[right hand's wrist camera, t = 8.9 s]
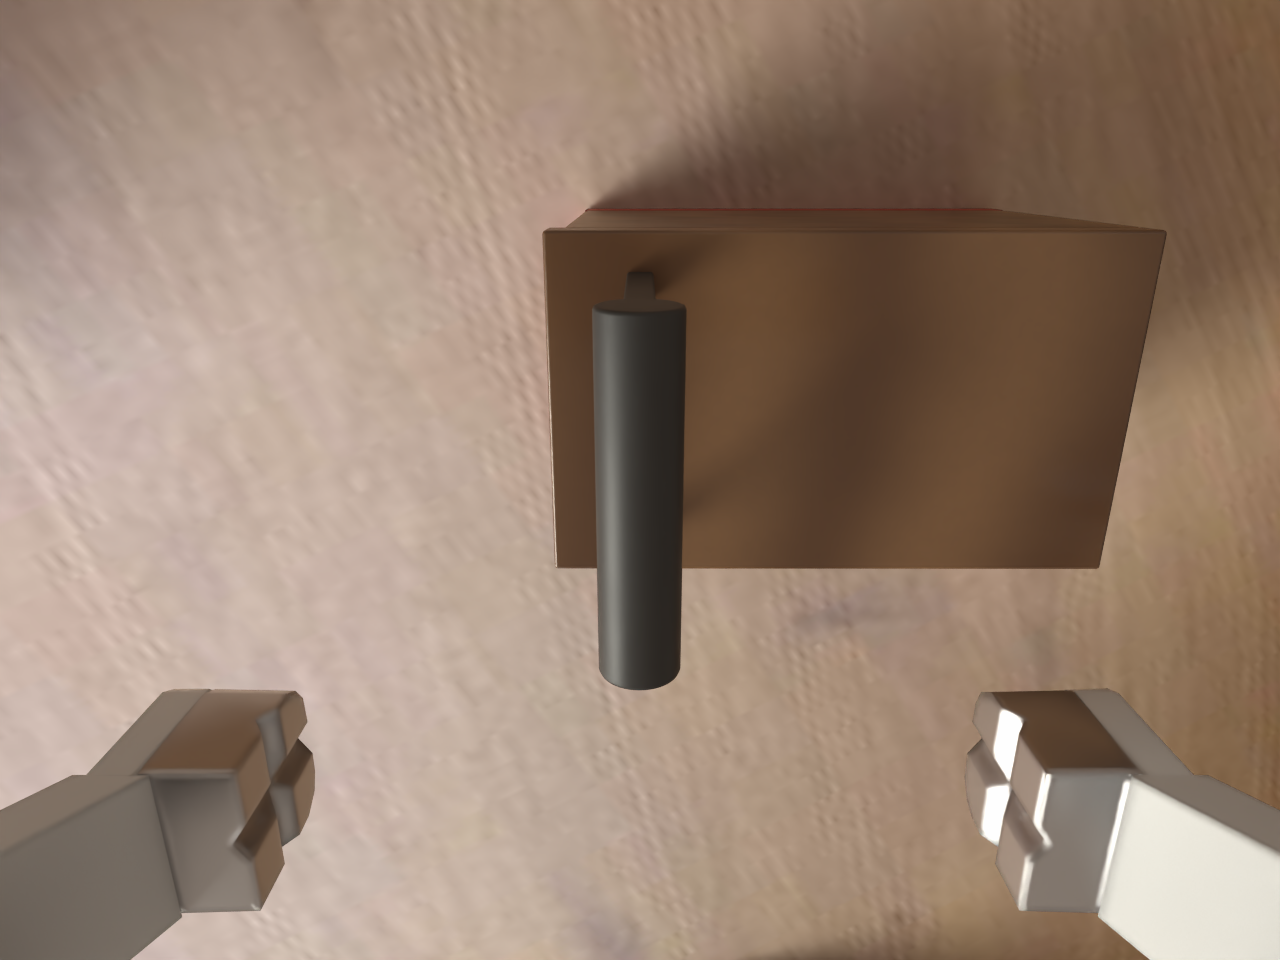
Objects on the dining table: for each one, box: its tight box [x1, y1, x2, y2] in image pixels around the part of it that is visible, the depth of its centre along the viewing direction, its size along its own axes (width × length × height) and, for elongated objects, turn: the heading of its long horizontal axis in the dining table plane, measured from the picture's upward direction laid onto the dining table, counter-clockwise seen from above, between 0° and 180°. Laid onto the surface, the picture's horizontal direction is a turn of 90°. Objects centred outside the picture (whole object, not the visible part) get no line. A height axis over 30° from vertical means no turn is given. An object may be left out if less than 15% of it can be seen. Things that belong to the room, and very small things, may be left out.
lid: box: [542, 228, 1166, 690], centre depth 21 cm, size 16×10×9 cm, turn 90°
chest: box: [566, 209, 1139, 228], centre depth 30 cm, size 16×10×11 cm, turn 90°
